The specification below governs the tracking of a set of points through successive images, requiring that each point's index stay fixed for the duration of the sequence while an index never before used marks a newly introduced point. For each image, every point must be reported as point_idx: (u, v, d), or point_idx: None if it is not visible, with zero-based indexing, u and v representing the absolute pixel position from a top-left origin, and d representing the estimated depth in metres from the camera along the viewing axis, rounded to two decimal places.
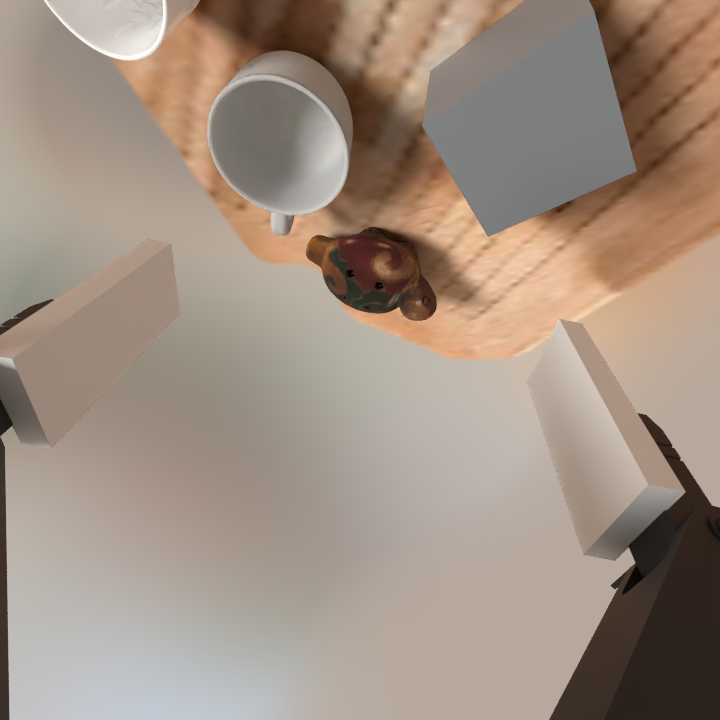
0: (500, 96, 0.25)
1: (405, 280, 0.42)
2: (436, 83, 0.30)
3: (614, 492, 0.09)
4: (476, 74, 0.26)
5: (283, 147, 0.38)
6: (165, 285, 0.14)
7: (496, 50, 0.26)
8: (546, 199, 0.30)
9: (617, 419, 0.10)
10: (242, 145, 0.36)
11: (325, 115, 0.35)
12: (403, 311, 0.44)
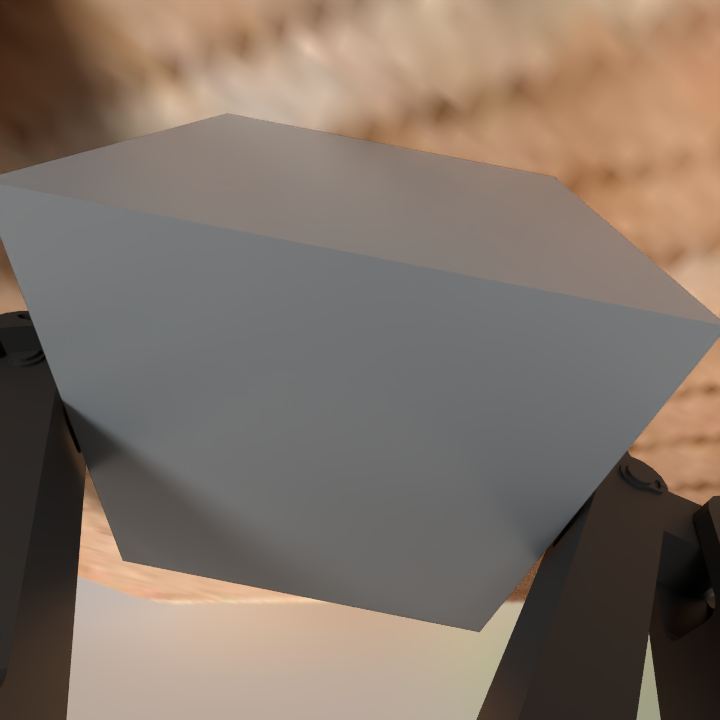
0: (320, 320, 0.06)
1: None
2: (203, 133, 0.10)
3: None
4: (295, 192, 0.07)
5: None
6: None
7: (377, 185, 0.09)
8: (291, 578, 0.11)
9: None
10: None
11: None
12: None
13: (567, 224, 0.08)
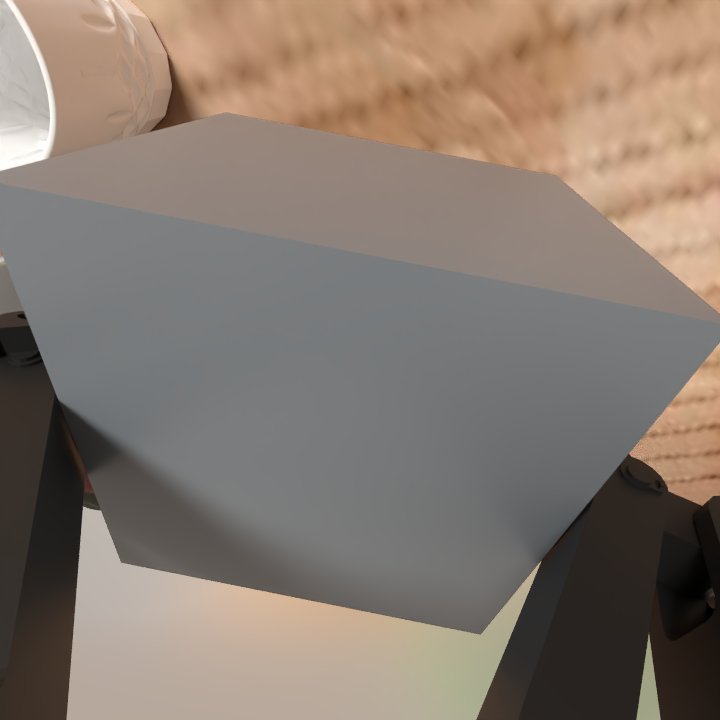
0: (319, 320, 0.06)
1: None
2: (202, 132, 0.10)
3: None
4: (294, 190, 0.07)
5: None
6: None
7: (377, 183, 0.08)
8: (291, 580, 0.11)
9: None
10: None
11: None
12: None
13: (569, 222, 0.08)
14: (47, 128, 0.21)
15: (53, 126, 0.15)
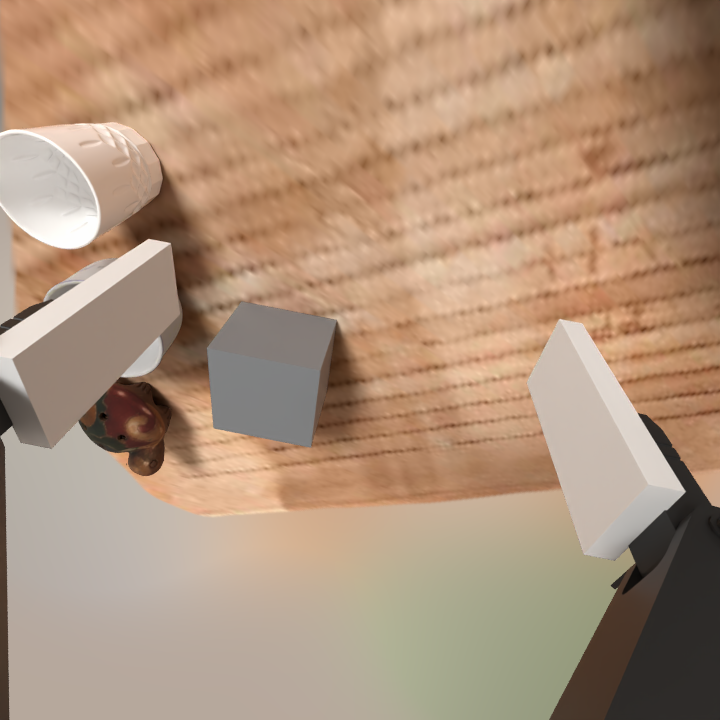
0: (260, 368, 0.37)
1: (147, 443, 0.50)
2: (237, 318, 0.41)
3: (614, 492, 0.09)
4: (256, 342, 0.38)
5: None
6: (165, 285, 0.14)
7: (275, 336, 0.39)
8: (259, 431, 0.42)
9: (617, 419, 0.10)
10: None
11: None
12: (129, 462, 0.50)
13: (316, 345, 0.39)
14: (89, 207, 0.35)
15: (99, 222, 0.29)
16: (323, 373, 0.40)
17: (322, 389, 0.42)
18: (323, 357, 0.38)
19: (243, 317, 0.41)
